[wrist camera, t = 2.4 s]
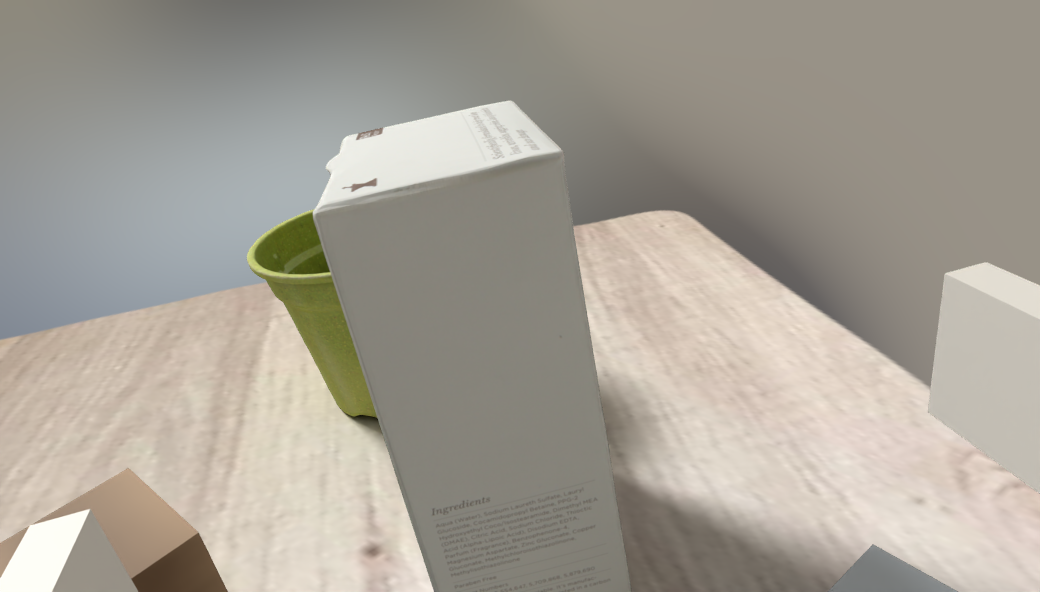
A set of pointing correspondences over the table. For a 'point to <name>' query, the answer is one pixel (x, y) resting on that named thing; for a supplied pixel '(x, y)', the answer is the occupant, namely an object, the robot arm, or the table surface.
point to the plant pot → (313, 306)
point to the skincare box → (477, 348)
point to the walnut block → (141, 537)
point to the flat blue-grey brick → (886, 576)
